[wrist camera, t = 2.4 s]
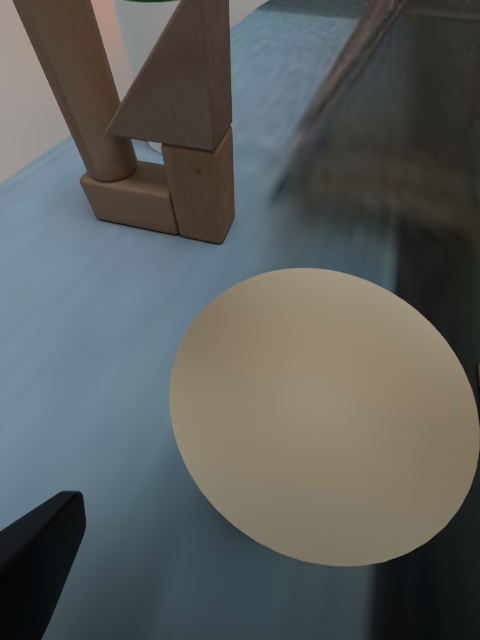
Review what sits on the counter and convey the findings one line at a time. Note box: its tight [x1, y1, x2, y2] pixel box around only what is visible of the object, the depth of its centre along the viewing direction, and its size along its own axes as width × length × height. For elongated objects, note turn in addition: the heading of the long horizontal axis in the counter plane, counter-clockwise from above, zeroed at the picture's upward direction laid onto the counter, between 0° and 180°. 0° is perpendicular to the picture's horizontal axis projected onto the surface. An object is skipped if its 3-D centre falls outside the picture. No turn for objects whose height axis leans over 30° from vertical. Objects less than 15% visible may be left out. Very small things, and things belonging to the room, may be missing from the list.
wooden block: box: [13, 0, 235, 244], centre depth 18 cm, size 4×11×18 cm, turn 74°
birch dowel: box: [169, 268, 480, 566], centre depth 10 cm, size 4×4×13 cm
